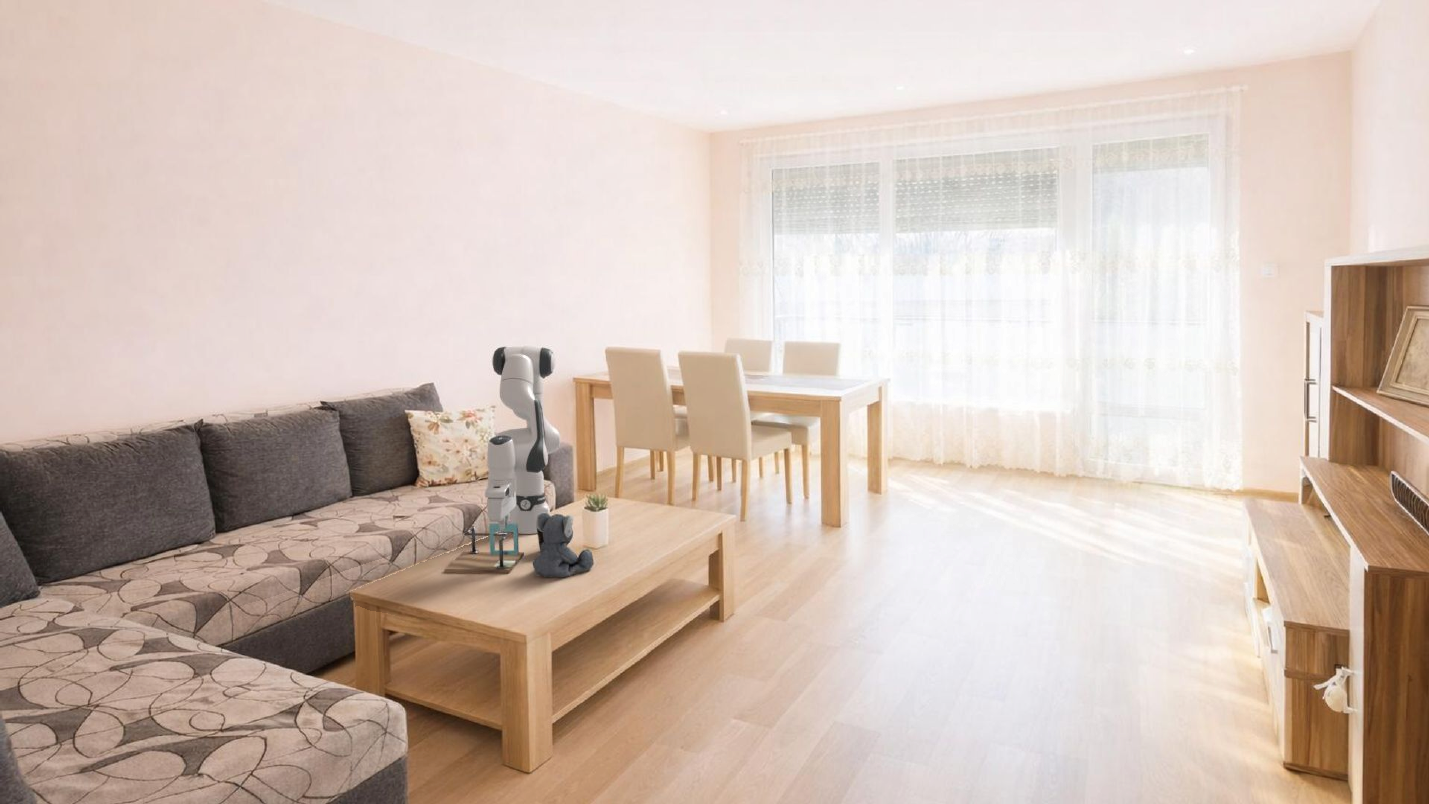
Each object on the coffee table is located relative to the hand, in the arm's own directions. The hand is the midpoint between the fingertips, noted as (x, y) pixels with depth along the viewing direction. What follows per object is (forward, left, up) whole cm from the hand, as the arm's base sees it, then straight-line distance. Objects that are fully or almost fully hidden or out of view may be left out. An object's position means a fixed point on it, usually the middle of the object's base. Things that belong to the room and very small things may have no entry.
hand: (503, 528), depth 279 cm
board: (-4, -8, -13) cm, 16 cm away
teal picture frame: (0, 0, -9) cm, 9 cm away
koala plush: (+2, +18, -14) cm, 23 cm away
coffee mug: (-19, +11, -14) cm, 26 cm away
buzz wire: (-4, -7, -12) cm, 15 cm away
